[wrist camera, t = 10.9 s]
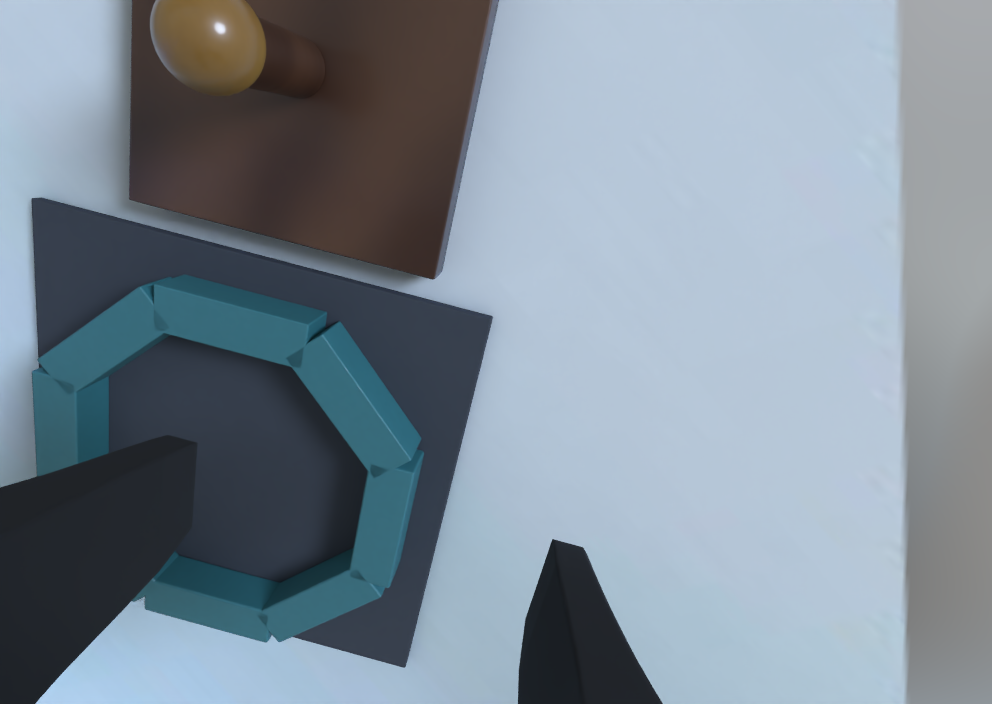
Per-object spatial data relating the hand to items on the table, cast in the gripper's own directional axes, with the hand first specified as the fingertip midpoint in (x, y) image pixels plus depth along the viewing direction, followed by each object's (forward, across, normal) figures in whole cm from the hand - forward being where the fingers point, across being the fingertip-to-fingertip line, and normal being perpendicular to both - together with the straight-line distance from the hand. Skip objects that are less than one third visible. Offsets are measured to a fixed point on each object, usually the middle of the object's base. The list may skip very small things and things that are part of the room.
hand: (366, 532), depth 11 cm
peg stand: (+9, +6, -8) cm, 14 cm away
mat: (+9, +7, +6) cm, 13 cm away
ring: (+8, +7, +6) cm, 12 cm away
